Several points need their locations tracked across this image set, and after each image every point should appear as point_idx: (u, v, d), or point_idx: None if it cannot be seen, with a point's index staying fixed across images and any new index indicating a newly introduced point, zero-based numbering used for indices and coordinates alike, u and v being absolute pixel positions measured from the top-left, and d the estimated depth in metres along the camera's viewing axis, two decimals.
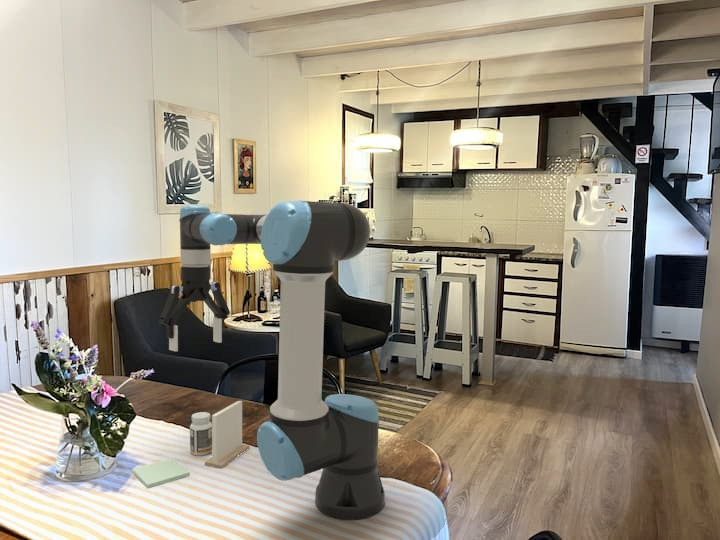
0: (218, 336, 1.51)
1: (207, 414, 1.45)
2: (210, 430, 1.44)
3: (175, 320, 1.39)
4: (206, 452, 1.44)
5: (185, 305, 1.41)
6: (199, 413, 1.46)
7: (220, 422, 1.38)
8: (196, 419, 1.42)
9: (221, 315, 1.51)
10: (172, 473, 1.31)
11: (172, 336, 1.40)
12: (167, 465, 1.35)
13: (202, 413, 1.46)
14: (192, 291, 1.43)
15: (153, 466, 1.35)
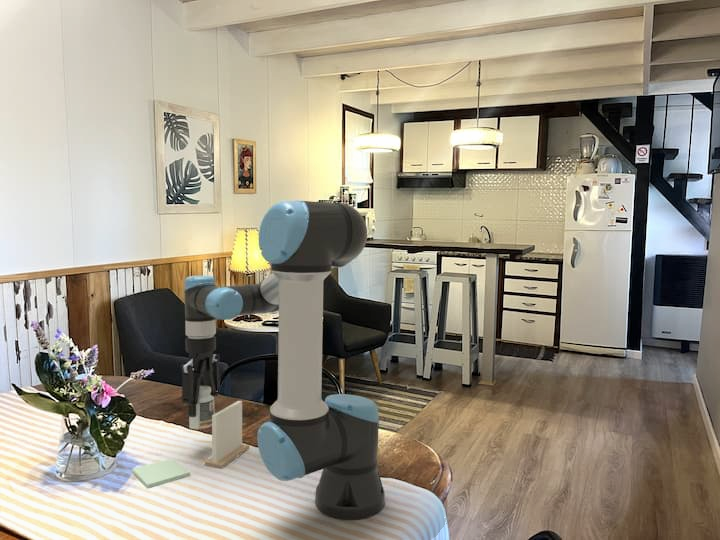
0: None
1: (208, 387, 1.44)
2: (211, 403, 1.43)
3: (197, 398, 1.40)
4: (207, 425, 1.42)
5: (199, 379, 1.41)
6: (200, 387, 1.45)
7: (220, 422, 1.38)
8: None
9: (214, 392, 1.47)
10: (172, 473, 1.31)
11: (195, 414, 1.40)
12: (167, 465, 1.35)
13: (202, 387, 1.45)
14: (201, 363, 1.41)
15: (153, 466, 1.35)
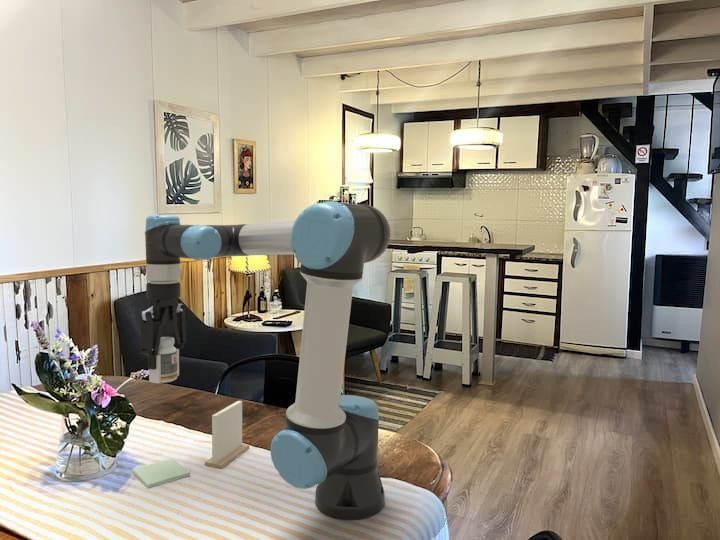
0: None
1: (171, 338, 1.31)
2: (174, 355, 1.31)
3: (157, 348, 1.27)
4: (169, 379, 1.30)
5: (161, 329, 1.28)
6: (162, 338, 1.32)
7: (220, 422, 1.38)
8: None
9: (178, 344, 1.34)
10: (172, 473, 1.31)
11: (155, 367, 1.28)
12: (167, 465, 1.35)
13: (165, 337, 1.32)
14: (162, 311, 1.28)
15: (153, 466, 1.35)
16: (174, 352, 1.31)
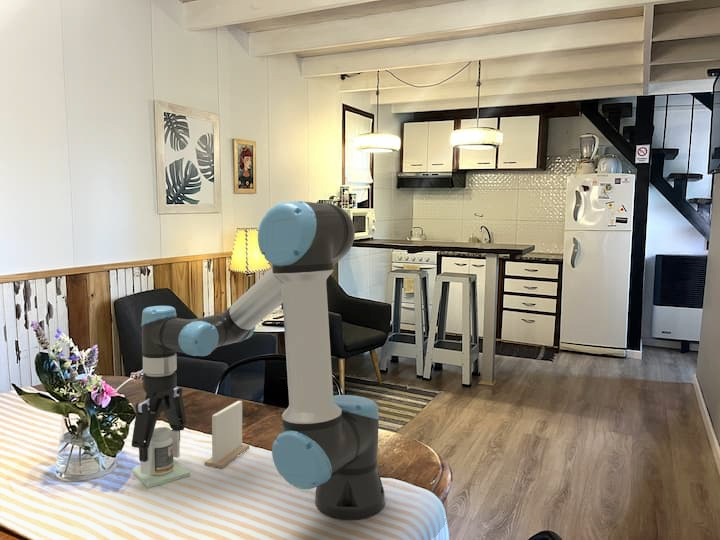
0: (175, 451, 1.36)
1: (167, 430, 1.32)
2: (170, 447, 1.31)
3: (149, 440, 1.26)
4: (165, 472, 1.30)
5: (155, 420, 1.28)
6: (158, 429, 1.32)
7: (220, 422, 1.38)
8: (154, 435, 1.29)
9: (179, 427, 1.36)
10: (172, 473, 1.31)
11: (146, 459, 1.27)
12: None
13: (161, 429, 1.33)
14: (159, 402, 1.29)
15: None
16: (170, 444, 1.31)
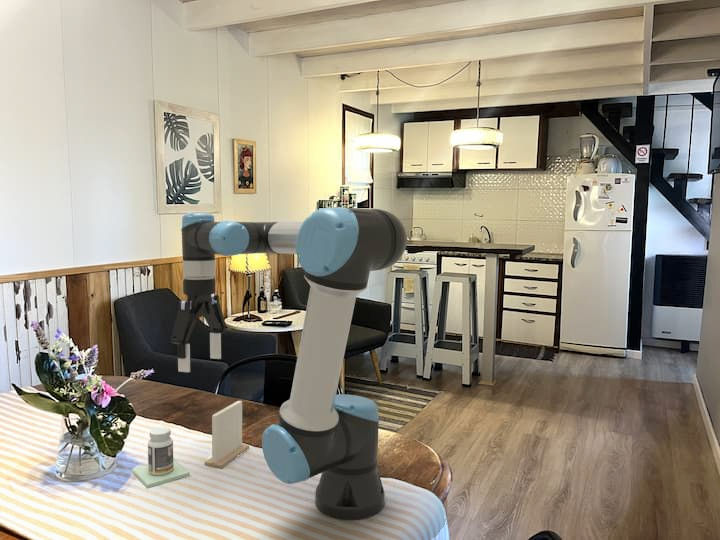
0: (217, 353, 1.41)
1: (167, 429, 1.32)
2: (170, 447, 1.31)
3: (187, 338, 1.28)
4: (165, 472, 1.30)
5: (194, 321, 1.30)
6: (158, 429, 1.32)
7: (220, 422, 1.38)
8: (154, 435, 1.29)
9: (220, 329, 1.41)
10: (172, 473, 1.31)
11: (184, 356, 1.28)
12: None
13: (161, 429, 1.33)
14: (200, 305, 1.32)
15: None
16: (170, 444, 1.31)
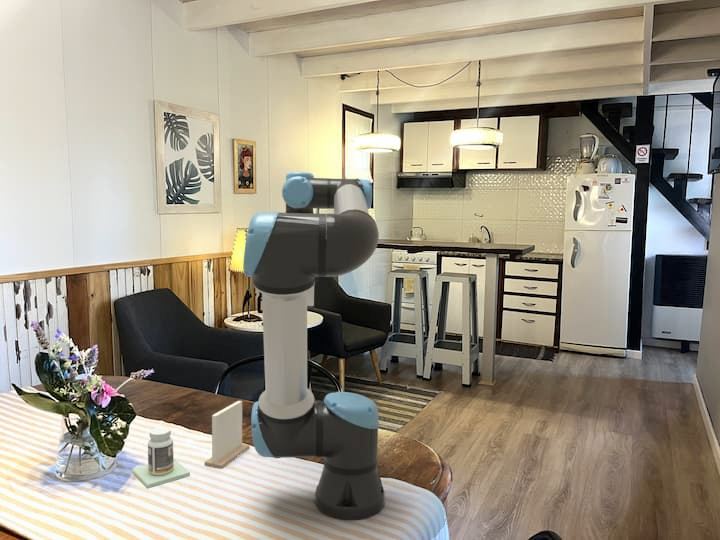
0: (310, 300, 1.57)
1: (167, 430, 1.32)
2: (170, 447, 1.31)
3: None
4: (165, 472, 1.30)
5: None
6: (158, 429, 1.32)
7: (220, 422, 1.38)
8: (154, 435, 1.29)
9: None
10: (172, 473, 1.31)
11: None
12: None
13: (161, 429, 1.33)
14: None
15: None
16: (170, 444, 1.31)
